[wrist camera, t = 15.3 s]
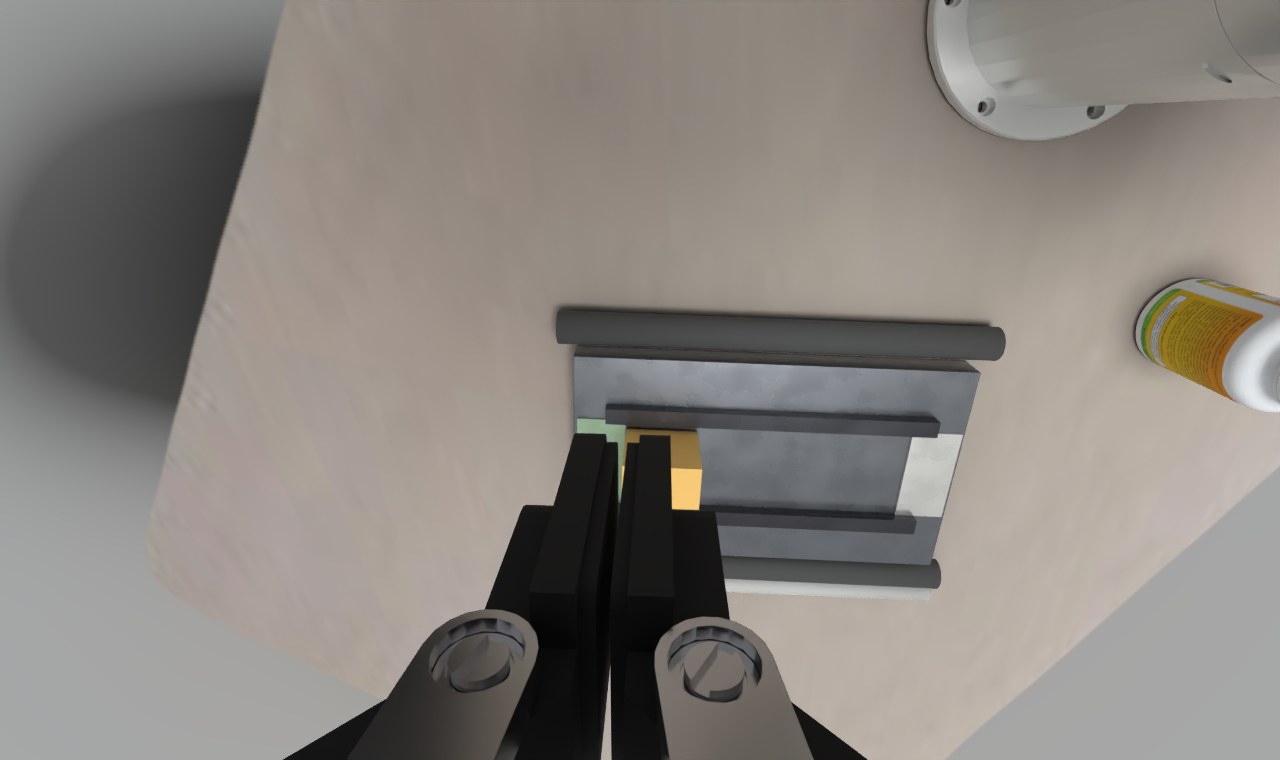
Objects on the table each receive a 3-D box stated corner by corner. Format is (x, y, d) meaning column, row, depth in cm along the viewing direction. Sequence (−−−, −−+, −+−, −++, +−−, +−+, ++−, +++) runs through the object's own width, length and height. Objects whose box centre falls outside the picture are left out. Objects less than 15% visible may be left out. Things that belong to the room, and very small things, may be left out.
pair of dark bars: (991, 322, 37) (1008, 333, 35) (921, 591, 45) (932, 611, 43) (561, 306, 37) (556, 315, 36) (566, 575, 45) (562, 594, 43)
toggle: (697, 431, 38) (702, 469, 34) (692, 500, 40) (696, 544, 36) (626, 428, 38) (622, 466, 34) (624, 497, 40) (620, 540, 36)
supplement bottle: (1137, 376, 38) (1284, 454, 29) (1126, 298, 36) (1280, 355, 27) (1232, 344, 37) (1416, 414, 28) (1226, 262, 35) (1420, 309, 26)
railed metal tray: (965, 360, 38) (987, 378, 35) (918, 546, 43) (935, 573, 41) (577, 345, 38) (571, 361, 36) (579, 530, 44) (574, 556, 41)
